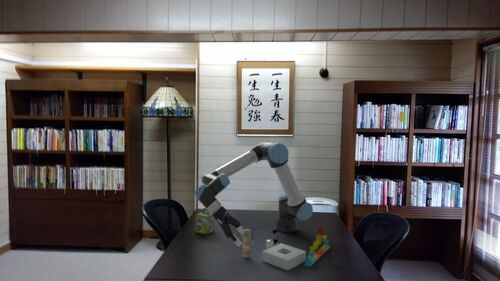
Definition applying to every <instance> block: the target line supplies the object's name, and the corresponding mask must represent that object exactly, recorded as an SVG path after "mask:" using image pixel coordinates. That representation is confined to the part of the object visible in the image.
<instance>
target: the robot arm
mask: <svg viewBox="0 0 500 281" xmlns="http://www.w3.org/2000/svg"><path fill="white" fill-rule="evenodd" d="M289 154H290V153H289V149H288V147H287V146H286V144H283V143H280V142H275V141H267V140H266V141H262V142H260V143H258V144H256V145H254V146H253V147H251V148H248V150H247V151H246V152H245V153H243V154H240V155H239V156H237V157H236V158H234V159H233V160H231V161H229V162H227V163H225V164H224V165H222V166H220V167H219V168H217V169H214V170H212V171H210V172H205V173H203V174H202V176H201V183H202V184H201V185H200V186H199V187H197V188H196V189H195V190H194V192H193V195H194V196H195V197H196V198H197V200H198V201H199V202H200V203H201V204H202V206H203V207H204V208H206V209H207V210H206V212H207V211H208V212H209V213H210V214H213V217H214V218H215V220H216V221H217V223H218V225H219V226H220V228H221V229H222V231H223V233H224V234H225V236H226V238H227V239H231V240H232V242H233V243H234V244H235V245H236V246H237V247H238V248H239V247H240V246H241V245H242V246H243V241H241V240H240V239H239V237H238V236H237V235H236V234H235V233H233V230H232V228H231V226H233V227H234V228H236V230H237V231H238V233H239V234H240V235H241V236H242V237H243V230H245V229H244V228H243V227H242V226H241V225H242V223H241V222H240V221H239V220H237V219H236V218H235V217H234V216H233V215H232V214H230V213H229V212H227V209H226V208H225V207H224V205H223V204H222V203H221V202H220V201H219V200H218V199H217V198H216V197H217V196H218V195H219V194H220V193H221V192H223V191H224V189H226V188H227V187H228V186H229V185H230V184H231V181H230V179H229V178H230V177H231V176H233V175H235V174H236V173H238V172H240V171H241V170H243V169H245V168H247V167H248V166H250V165H252V164H253V163H256V164H257V163H259V162H261V161H267V162H268V164H269V165H268V166H269V167H270V168H271V169H274V171H275V174H276V176H277V178H278V181H279V183H280V185H281V187H282V189H283V191H284V194H281V195H279V197H278V211H277V212H278V213H277V214H278V216H277V219H276V221H275V226H274V228H275V230H276V231H278V232H281V233H295V232H298V231H299V226H298V221H303V222H305V221H308V220H309V219H310V218H311V216H312V215H313V211H314V209H313V208H314V207H313V205H312V204H311V203H310V202H307V199H306V197H305V195H304V194H302V193H301V192H300V190H299V188H298V185H297V183H296V180H295V178H294V176H293V173H292V170H291V169H290V166H289V164H288V163H289ZM226 212H227V213H226ZM297 220H298V221H297ZM230 225H231V226H230Z"/></svg>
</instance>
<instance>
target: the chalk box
mask: <svg viewBox="0 0 500 281" xmlns="http://www.w3.org/2000/svg"><path fill="white" fill-rule="evenodd" d="M215 220H216V219H215V218H214V217H213V214H210V212H208V211H207V208H205V207H204V208H203V209H202V212H200V213H197V214H196V215H195V231H194V233H197V234H202V235H206V236H207V235H209V234H211V233H213V232H215Z"/></svg>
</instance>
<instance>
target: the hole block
mask: <svg viewBox="0 0 500 281" xmlns="http://www.w3.org/2000/svg"><path fill="white" fill-rule="evenodd" d="M261 254H262V258H261V260H262V261H263V262H265V263H268V264H270V265H272V266H275V267H278V268H281V269H283V270H285V271H290V270H291V269H293V268H296V267H297V266H299V265H301V264H302V263H305V262H306V261H307V258H305V257H307V251H306V250H303V249H300V248H297V247H294V246H290V245H287V244H284V243H279V244H276V245H273V247H271V248H269V249H266V248H265V249H264V250H262V253H261Z"/></svg>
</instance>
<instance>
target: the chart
mask: <svg viewBox="0 0 500 281" xmlns="http://www.w3.org/2000/svg"><path fill="white" fill-rule="evenodd" d="M315 238H316V239H315V240H314V241H313V244H312V246H310V248H309V253H308V255H307V256H306V257H305V258H306V261H304V266H305V267H308V268H310V267H312V266H313V265H314V264H315V263H316V262H317V261H318V260H319V259H320V258H321V257H322V256H323V255H324V254H326V252H327V251H329V249H330V248H331V247H330V244H329V242H330V240H328V238H327V235H324V230H323V228H321V227H317V231H316V237H315ZM322 242H323V245H322V246H321V244H322ZM319 246H321V247H320V248H319ZM318 248H319V249H318ZM316 250H317V251H316Z"/></svg>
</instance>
